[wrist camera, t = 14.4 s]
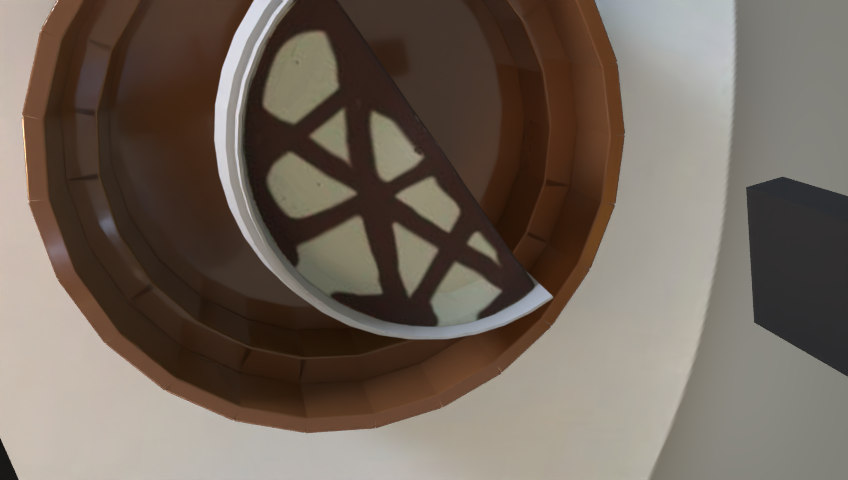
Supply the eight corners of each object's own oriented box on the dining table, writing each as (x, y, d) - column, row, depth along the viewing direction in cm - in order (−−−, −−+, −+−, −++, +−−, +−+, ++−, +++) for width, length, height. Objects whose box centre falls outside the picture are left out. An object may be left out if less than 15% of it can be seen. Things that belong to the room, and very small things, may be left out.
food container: (141, 66, 28) (103, 98, 19) (279, -38, 28) (311, -56, 19) (346, 312, 32) (397, 436, 23) (464, 222, 33) (562, 310, 23)
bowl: (153, 415, 32) (140, 501, 27) (-22, -78, 26) (-87, -99, 20) (580, 291, 36) (647, 345, 30) (518, -174, 29) (588, -214, 24)
